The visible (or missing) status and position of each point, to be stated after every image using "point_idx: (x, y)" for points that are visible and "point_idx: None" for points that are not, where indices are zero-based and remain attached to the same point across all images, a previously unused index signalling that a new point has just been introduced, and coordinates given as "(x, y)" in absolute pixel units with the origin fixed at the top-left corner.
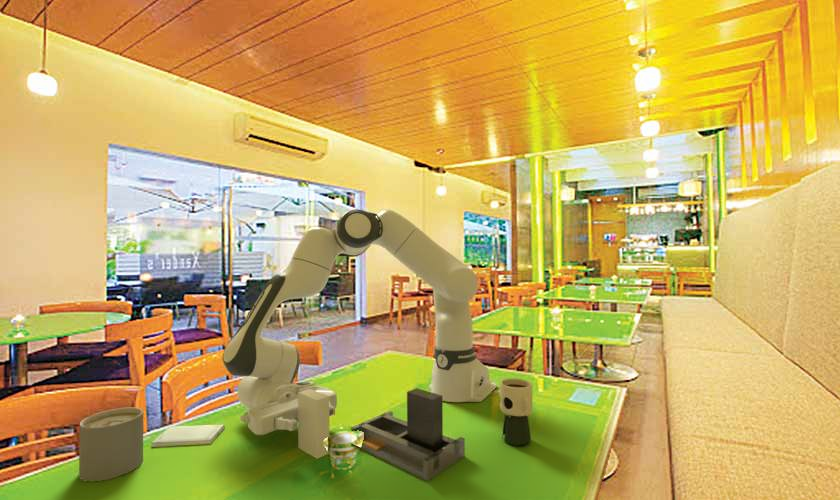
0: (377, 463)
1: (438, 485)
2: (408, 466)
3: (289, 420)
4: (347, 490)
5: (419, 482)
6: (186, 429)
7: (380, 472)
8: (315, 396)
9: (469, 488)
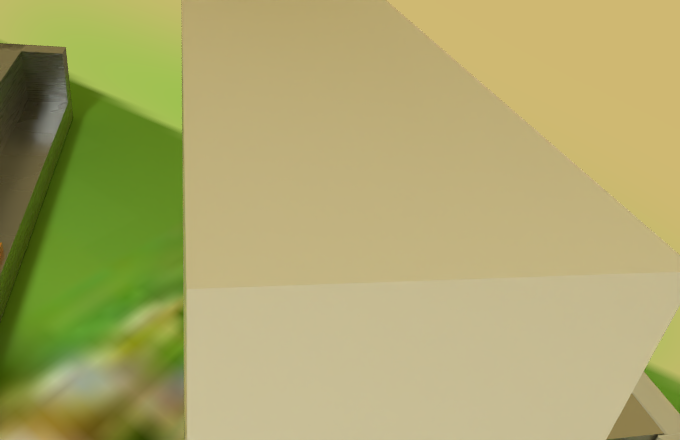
0: (75, 245)
1: None
2: (56, 135)
3: (652, 412)
4: None
5: (93, 126)
6: None
7: (132, 205)
8: (346, 31)
9: None
